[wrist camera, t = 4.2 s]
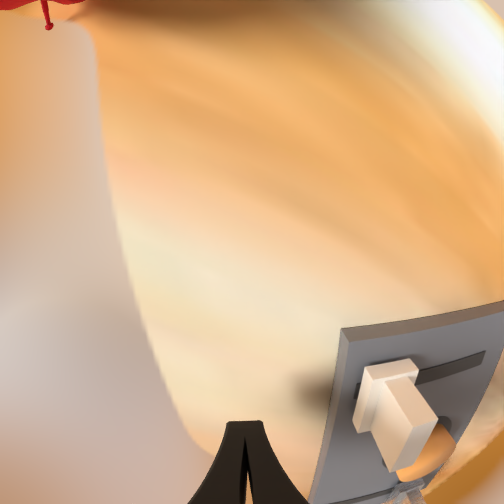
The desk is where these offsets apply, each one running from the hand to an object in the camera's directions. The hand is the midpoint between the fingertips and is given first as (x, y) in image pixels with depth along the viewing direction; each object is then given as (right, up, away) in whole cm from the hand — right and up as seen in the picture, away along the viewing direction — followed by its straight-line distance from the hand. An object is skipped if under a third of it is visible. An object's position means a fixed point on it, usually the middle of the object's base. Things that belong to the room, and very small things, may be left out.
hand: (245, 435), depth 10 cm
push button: (+12, -6, +5) cm, 14 cm away
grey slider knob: (+13, -13, +6) cm, 19 cm away
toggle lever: (+6, +1, +2) cm, 7 cm away
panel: (+11, -6, +5) cm, 13 cm away
